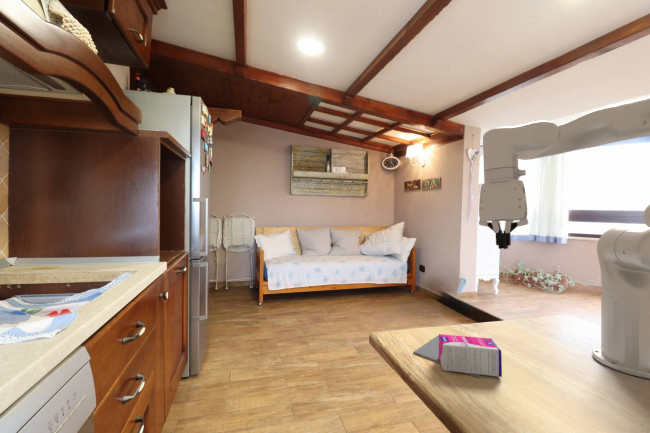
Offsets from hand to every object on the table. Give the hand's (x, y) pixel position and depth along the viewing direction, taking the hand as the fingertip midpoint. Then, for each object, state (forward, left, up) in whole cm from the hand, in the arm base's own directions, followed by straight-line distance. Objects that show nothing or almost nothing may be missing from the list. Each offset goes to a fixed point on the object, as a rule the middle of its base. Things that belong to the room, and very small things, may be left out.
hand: (503, 248), depth 72 cm
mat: (+7, +12, -26) cm, 29 cm away
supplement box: (-2, +14, -22) cm, 26 cm away
